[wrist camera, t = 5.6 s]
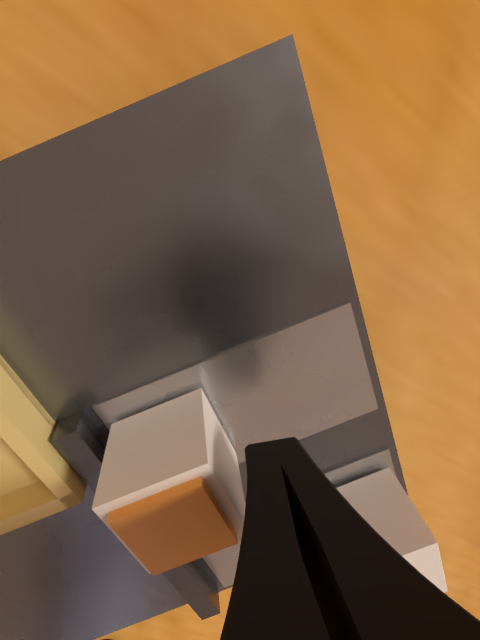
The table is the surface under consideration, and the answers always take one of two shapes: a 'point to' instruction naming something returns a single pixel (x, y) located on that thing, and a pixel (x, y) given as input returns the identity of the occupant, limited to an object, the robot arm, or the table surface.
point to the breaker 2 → (396, 521)
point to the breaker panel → (178, 318)
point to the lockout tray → (30, 459)
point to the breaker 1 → (171, 484)
